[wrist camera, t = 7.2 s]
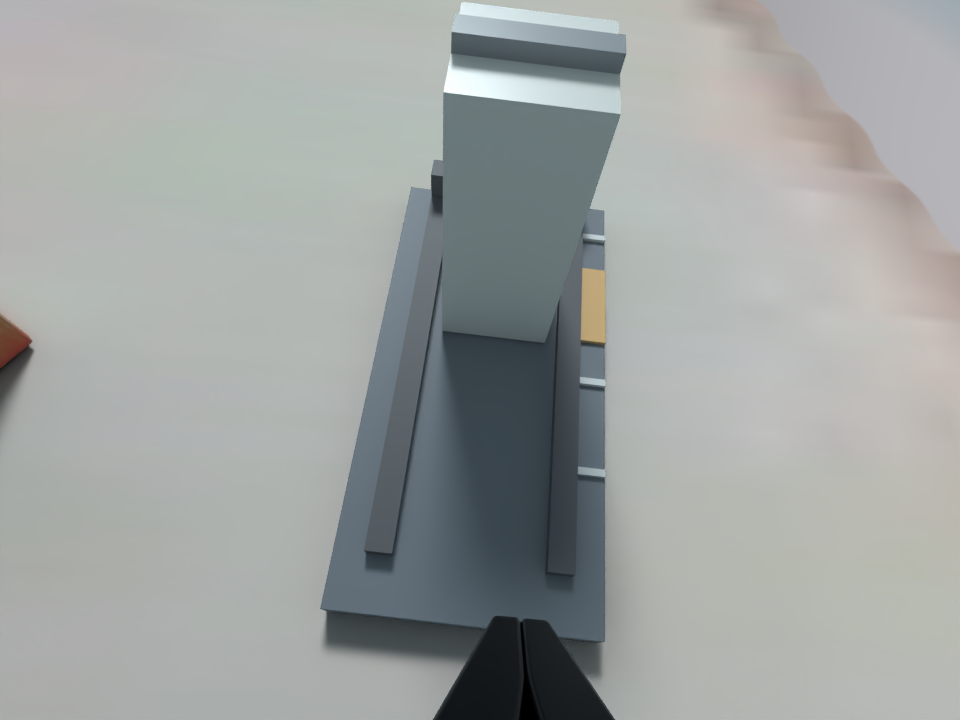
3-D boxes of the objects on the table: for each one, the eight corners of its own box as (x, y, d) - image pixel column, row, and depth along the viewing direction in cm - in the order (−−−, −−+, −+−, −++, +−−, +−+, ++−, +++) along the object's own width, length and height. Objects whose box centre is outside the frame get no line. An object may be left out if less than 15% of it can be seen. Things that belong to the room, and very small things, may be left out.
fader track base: (596, 642, 21) (620, 639, 18) (326, 611, 21) (308, 603, 18) (598, 226, 30) (614, 181, 27) (412, 203, 30) (409, 156, 27)
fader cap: (544, 343, 25) (627, 93, 14) (441, 330, 25) (443, 70, 14) (548, 270, 27) (624, 0, 16) (452, 259, 27) (462, -20, 16)
